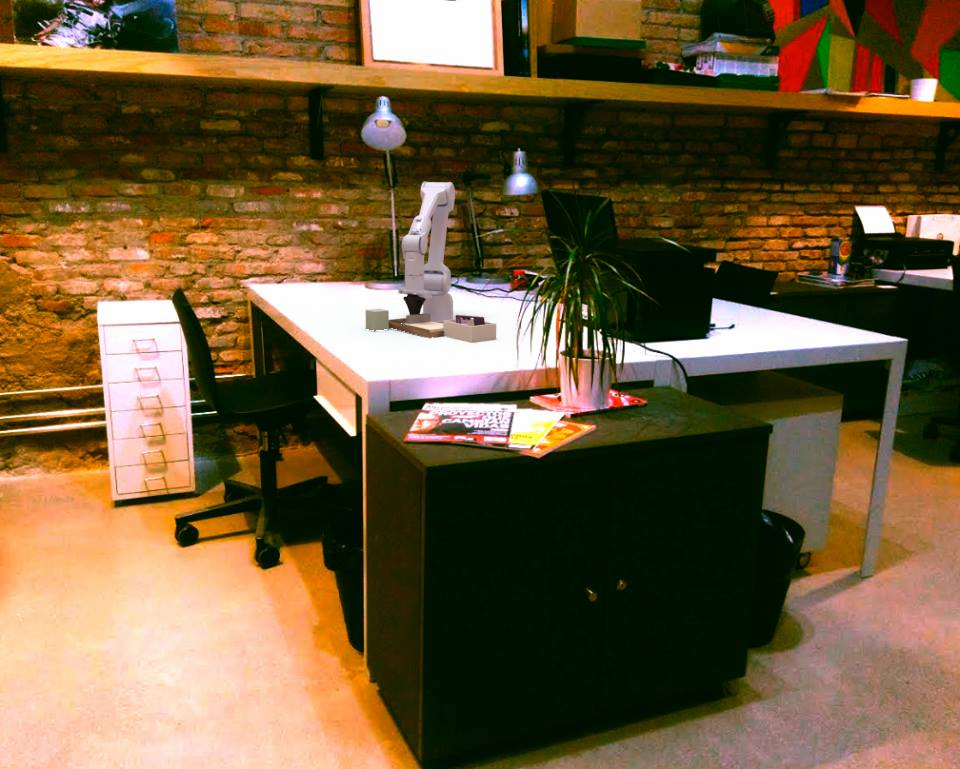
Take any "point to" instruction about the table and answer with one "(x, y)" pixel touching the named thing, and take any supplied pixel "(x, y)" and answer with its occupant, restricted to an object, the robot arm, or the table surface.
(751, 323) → the table surface
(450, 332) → the beige open box
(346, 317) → the table surface
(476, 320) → the black piece
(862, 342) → the table surface
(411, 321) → the lid
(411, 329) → the board
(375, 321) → the sage block
